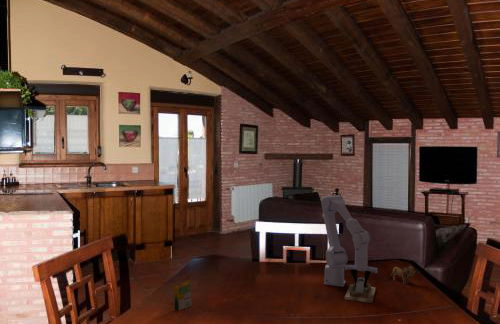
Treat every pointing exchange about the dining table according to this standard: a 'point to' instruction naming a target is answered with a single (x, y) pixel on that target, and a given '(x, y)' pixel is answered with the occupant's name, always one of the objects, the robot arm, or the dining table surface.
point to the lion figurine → (403, 273)
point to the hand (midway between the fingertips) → (360, 286)
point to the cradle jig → (362, 297)
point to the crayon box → (182, 295)
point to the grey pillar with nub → (360, 285)
